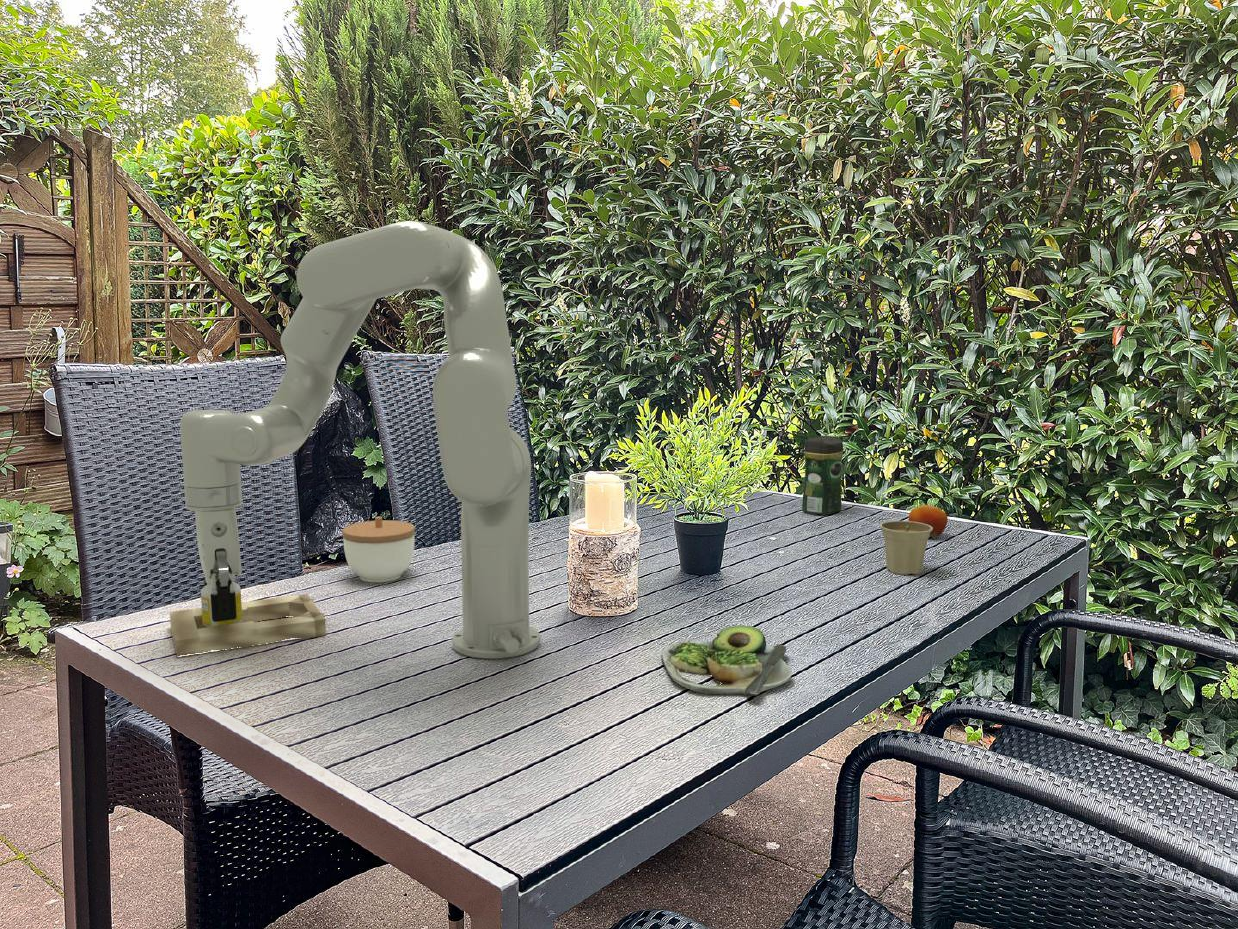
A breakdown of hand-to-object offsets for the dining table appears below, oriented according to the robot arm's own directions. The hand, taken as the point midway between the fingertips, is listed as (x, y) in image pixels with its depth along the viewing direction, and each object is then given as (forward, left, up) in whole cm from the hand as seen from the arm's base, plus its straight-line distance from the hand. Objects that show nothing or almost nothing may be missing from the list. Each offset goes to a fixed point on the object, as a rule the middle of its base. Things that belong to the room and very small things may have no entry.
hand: (220, 610), depth 138 cm
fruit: (-2, -142, -4) cm, 142 cm away
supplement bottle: (0, 0, -4) cm, 4 cm away
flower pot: (-20, -116, -4) cm, 118 cm away
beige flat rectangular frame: (0, -4, -4) cm, 5 cm away
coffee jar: (+28, -138, -4) cm, 140 cm away
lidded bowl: (+20, -28, -4) cm, 35 cm away
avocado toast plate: (-45, -59, -4) cm, 74 cm away
